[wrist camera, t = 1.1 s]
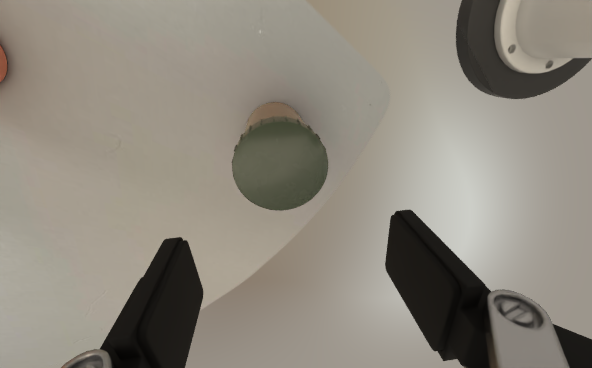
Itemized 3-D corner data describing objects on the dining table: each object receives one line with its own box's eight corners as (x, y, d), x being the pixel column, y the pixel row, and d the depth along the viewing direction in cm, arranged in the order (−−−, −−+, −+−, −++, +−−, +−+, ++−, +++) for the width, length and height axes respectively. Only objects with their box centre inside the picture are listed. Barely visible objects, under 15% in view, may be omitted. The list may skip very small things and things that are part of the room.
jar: (274, 88, 26) (280, 104, 17) (315, 131, 29) (340, 166, 19) (233, 132, 28) (218, 169, 18) (275, 169, 30) (281, 218, 21)
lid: (279, 94, 18) (280, 97, 16) (341, 159, 21) (347, 167, 19) (214, 162, 20) (210, 171, 18) (280, 214, 22) (281, 226, 21)
